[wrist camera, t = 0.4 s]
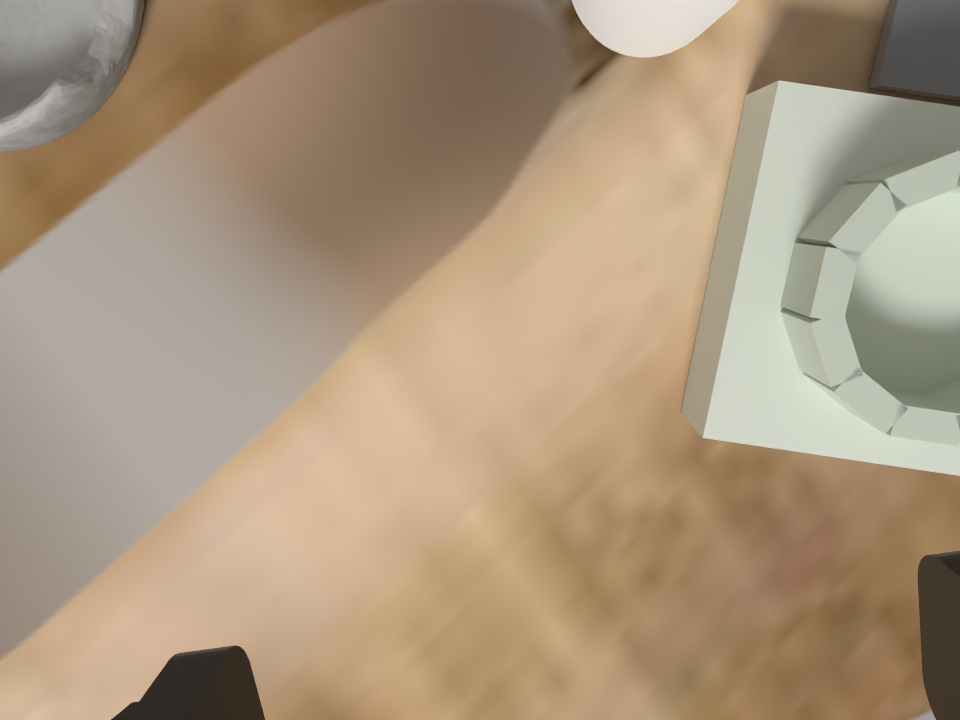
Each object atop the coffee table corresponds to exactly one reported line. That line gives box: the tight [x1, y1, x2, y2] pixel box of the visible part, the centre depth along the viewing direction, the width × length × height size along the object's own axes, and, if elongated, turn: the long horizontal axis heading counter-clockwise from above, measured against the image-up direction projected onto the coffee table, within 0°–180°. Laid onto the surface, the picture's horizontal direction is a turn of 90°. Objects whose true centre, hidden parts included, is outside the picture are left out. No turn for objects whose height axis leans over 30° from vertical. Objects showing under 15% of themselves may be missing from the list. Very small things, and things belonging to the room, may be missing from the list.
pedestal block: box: [681, 80, 960, 476], centre depth 30 cm, size 14×14×7 cm
